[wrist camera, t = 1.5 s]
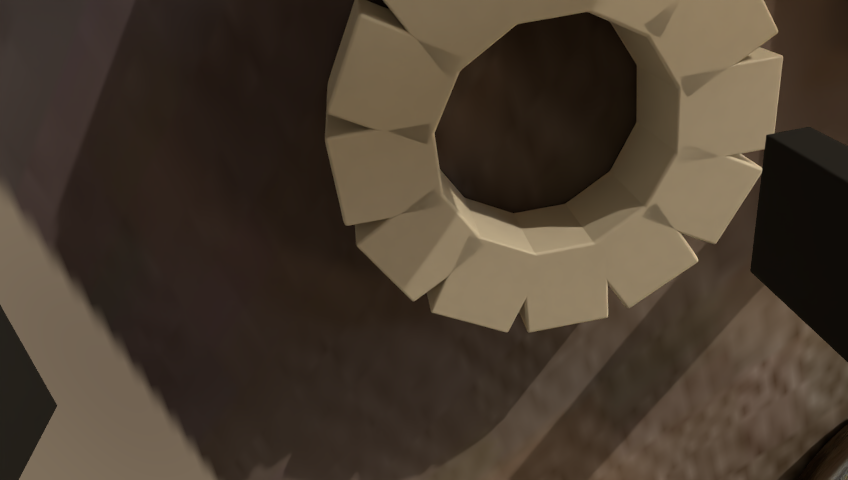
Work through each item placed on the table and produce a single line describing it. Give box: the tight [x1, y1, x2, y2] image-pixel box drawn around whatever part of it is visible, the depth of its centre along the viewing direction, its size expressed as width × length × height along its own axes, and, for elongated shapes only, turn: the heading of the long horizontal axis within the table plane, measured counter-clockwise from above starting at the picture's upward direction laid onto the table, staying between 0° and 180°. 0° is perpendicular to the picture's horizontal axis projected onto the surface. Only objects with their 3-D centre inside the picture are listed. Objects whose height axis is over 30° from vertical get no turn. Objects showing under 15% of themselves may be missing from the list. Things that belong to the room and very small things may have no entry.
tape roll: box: [325, 0, 783, 333], centre depth 17 cm, size 11×11×3 cm
